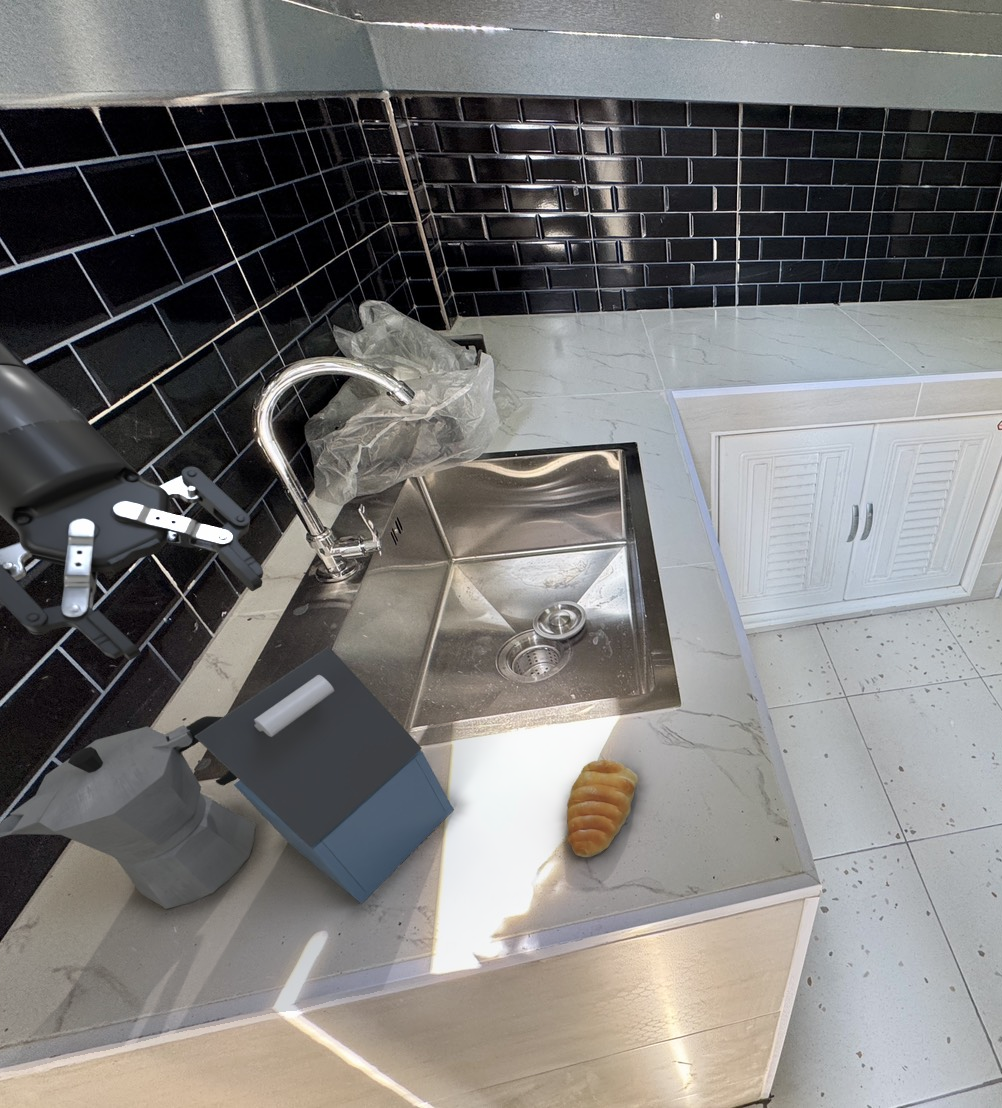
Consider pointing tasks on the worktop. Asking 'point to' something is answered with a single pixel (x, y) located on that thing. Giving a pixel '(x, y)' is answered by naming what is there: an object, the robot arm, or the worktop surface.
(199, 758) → the worktop surface
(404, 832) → the blue-grey box
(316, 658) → the grey box lid
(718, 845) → the worktop surface
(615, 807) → the pastry
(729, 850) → the worktop surface
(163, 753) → the coffeepot
